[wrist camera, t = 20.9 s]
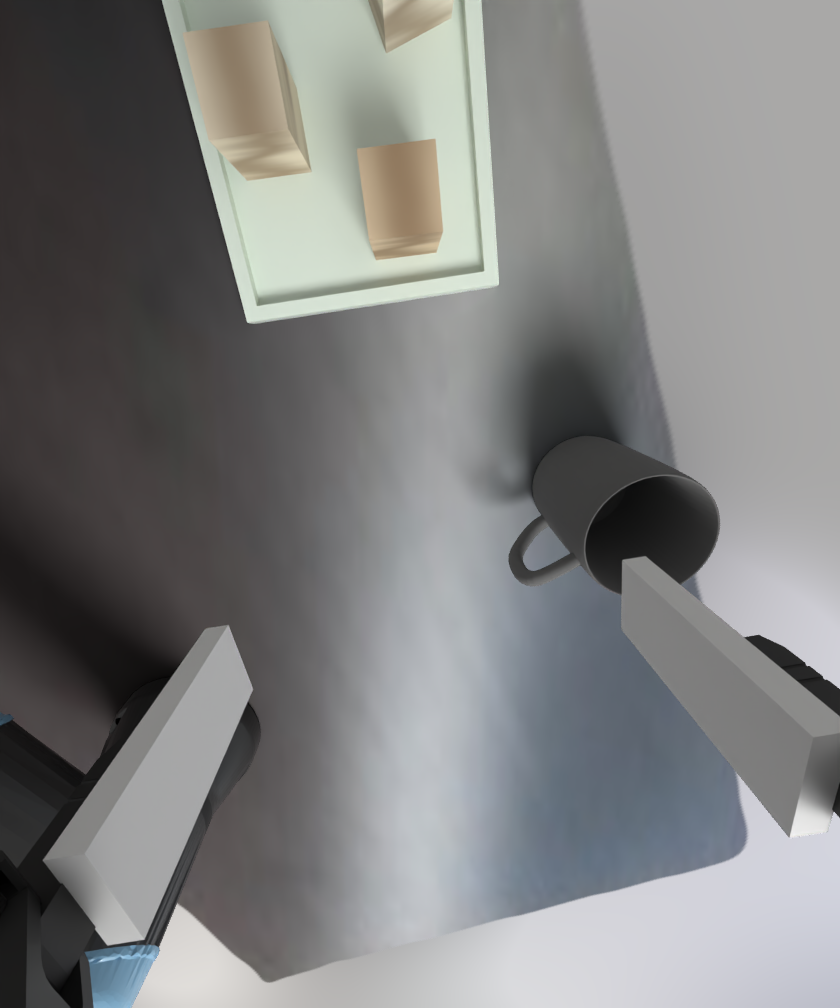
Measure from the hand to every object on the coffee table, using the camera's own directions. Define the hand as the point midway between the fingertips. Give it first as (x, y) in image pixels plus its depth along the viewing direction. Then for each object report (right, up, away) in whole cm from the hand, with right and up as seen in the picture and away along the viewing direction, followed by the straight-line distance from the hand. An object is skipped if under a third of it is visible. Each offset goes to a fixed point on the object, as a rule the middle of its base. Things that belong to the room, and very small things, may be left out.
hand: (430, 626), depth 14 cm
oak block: (-2, +24, +16) cm, 29 cm away
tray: (-5, +29, +15) cm, 33 cm away
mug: (+12, +5, +25) cm, 28 cm away
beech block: (-10, +29, +14) cm, 34 cm away
